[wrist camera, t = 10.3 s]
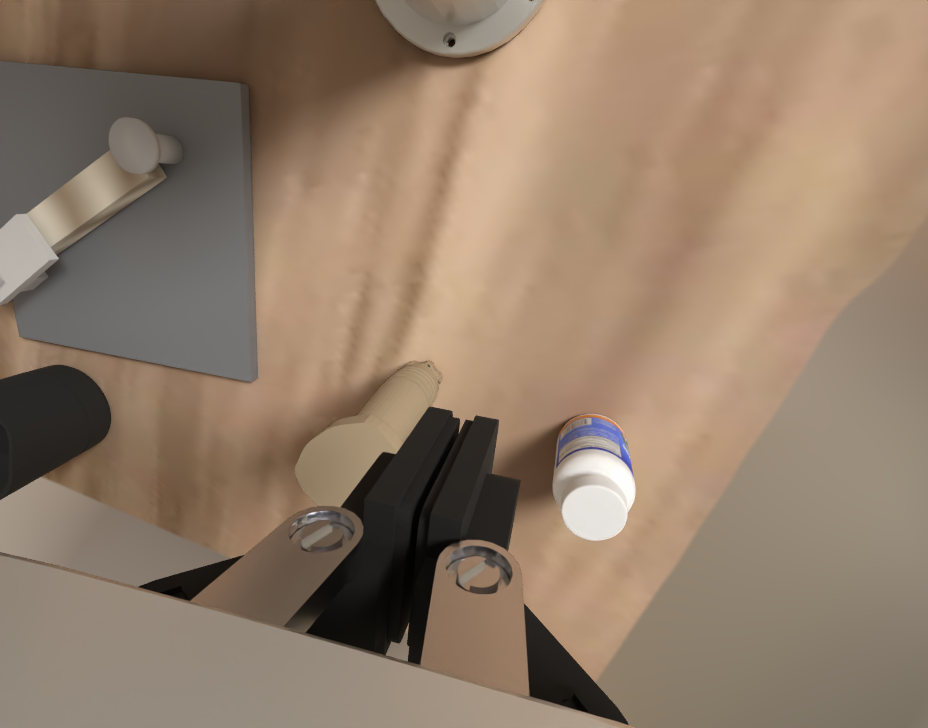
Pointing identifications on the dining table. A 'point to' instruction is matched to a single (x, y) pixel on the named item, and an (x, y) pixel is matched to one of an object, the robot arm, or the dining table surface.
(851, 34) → the dining table surface
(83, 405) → the pen holder
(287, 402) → the dining table surface
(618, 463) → the pill bottle
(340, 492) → the handle
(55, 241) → the link
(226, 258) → the board
